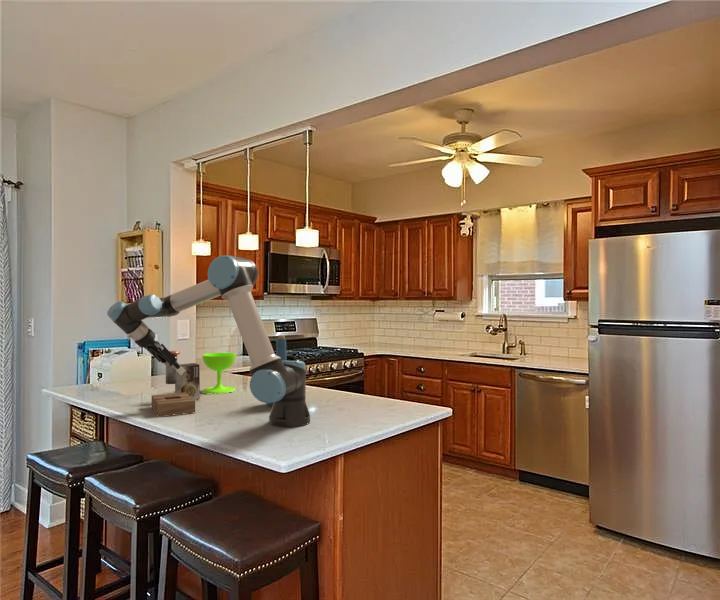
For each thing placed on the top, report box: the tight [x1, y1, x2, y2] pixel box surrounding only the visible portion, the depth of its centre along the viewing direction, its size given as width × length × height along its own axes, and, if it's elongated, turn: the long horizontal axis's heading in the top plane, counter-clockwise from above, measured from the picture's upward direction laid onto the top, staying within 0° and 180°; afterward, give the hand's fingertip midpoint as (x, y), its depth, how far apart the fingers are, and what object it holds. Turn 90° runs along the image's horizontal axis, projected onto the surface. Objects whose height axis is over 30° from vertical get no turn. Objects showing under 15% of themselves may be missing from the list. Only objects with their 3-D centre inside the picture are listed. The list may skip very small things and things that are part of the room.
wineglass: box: [201, 352, 237, 395], centre depth 261 cm, size 16×16×18 cm
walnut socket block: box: [151, 392, 196, 417], centre depth 218 cm, size 20×14×5 cm
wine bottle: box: [265, 334, 287, 408], centre depth 229 cm, size 14×13×30 cm
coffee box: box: [174, 362, 201, 401], centre depth 238 cm, size 9×6×16 cm
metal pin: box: [165, 350, 181, 385], centre depth 218 cm, size 6×6×13 cm
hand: (179, 372), depth 221 cm, fingers closed on metal pin, 4 cm apart
